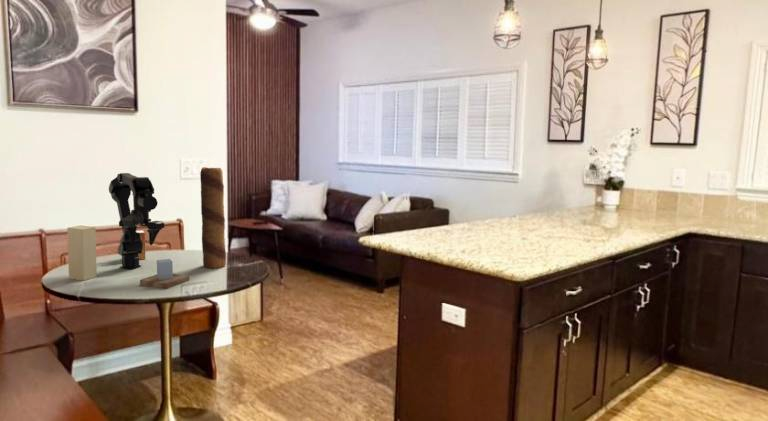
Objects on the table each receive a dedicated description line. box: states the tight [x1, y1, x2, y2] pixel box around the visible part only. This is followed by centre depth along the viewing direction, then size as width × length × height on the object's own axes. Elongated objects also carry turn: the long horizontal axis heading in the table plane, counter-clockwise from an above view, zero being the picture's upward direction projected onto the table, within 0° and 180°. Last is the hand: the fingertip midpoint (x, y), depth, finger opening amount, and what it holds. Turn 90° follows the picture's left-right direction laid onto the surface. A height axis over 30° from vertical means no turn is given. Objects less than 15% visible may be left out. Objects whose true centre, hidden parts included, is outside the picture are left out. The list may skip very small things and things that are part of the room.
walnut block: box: [139, 273, 190, 290], centre depth 216 cm, size 13×13×2 cm
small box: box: [136, 229, 146, 261], centre depth 253 cm, size 8×6×13 cm
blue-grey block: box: [156, 258, 174, 280], centre depth 215 cm, size 5×5×7 cm
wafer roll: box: [199, 167, 227, 269], centre depth 242 cm, size 10×11×45 cm
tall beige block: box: [66, 225, 98, 282], centre depth 218 cm, size 8×7×21 cm
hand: (142, 244), depth 226 cm, fingers open, 9 cm apart
